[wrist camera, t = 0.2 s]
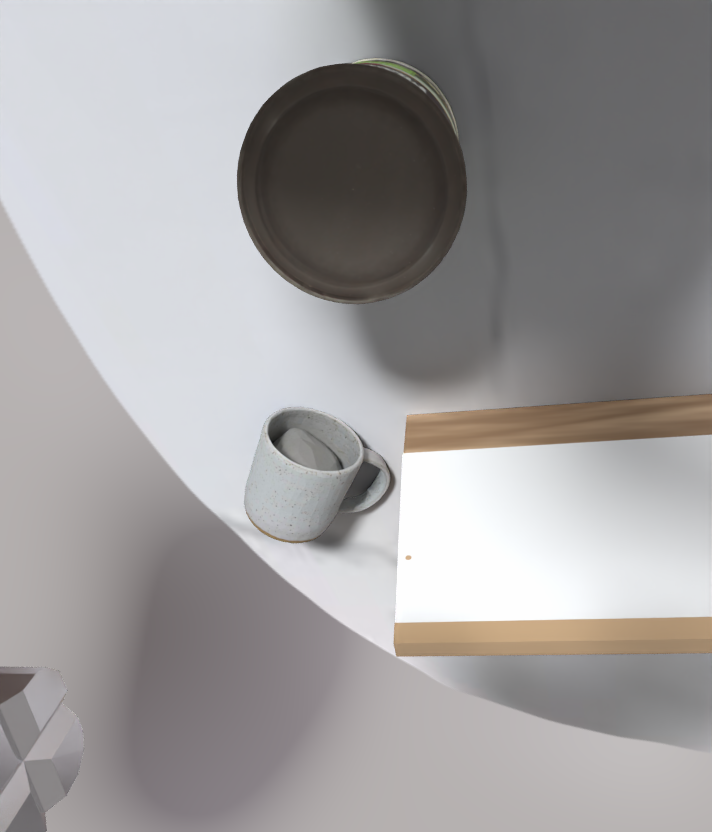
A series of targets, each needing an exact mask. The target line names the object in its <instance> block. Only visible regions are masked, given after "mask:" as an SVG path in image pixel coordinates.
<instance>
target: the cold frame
mask: <svg viewBox="0 0 712 832" xmlns="http://www.w3.org/2000/svg"><path fill="white" fill-rule="evenodd" d="M698 435H712V394H705V395H690V396H676V397H661V398H647V399H633V400H618V401H604V402H590V403H575V404H561V405H547V406H532V407H518V408H504V409H489V410H475V411H460V412H446V413H432V414H417V415H407V420H406V431H405V443H404V453H416V452H433V451H449V450H466V449H483V448H499V447H516V446H532V445H549V444H565V443H582V442H599V441H615V440H632V439H648V438H665V437H681V436H698Z"/></svg>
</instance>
